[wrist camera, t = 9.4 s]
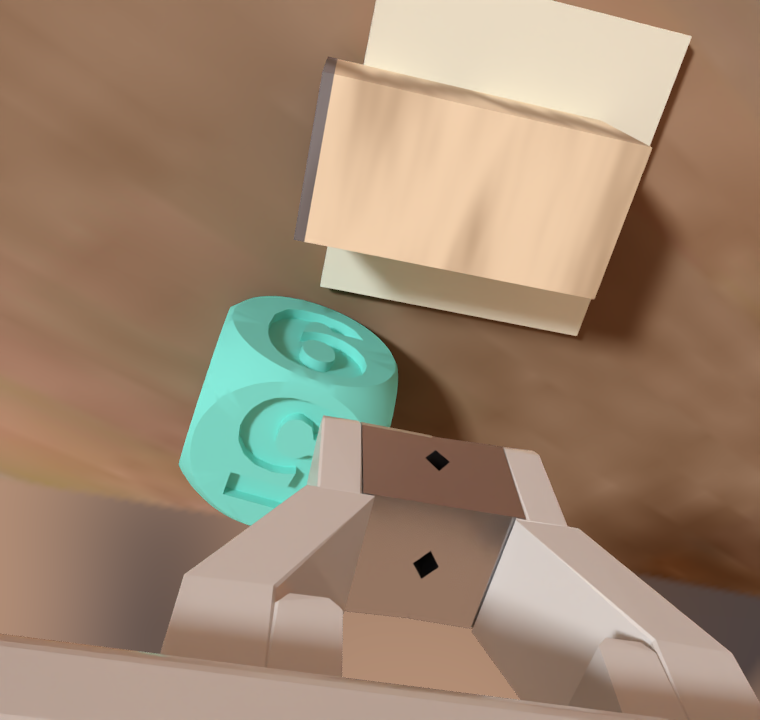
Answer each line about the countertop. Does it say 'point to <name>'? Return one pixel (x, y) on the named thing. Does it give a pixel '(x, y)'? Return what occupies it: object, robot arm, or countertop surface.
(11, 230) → the countertop surface
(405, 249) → the birch block
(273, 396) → the decorative dice
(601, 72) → the mat
